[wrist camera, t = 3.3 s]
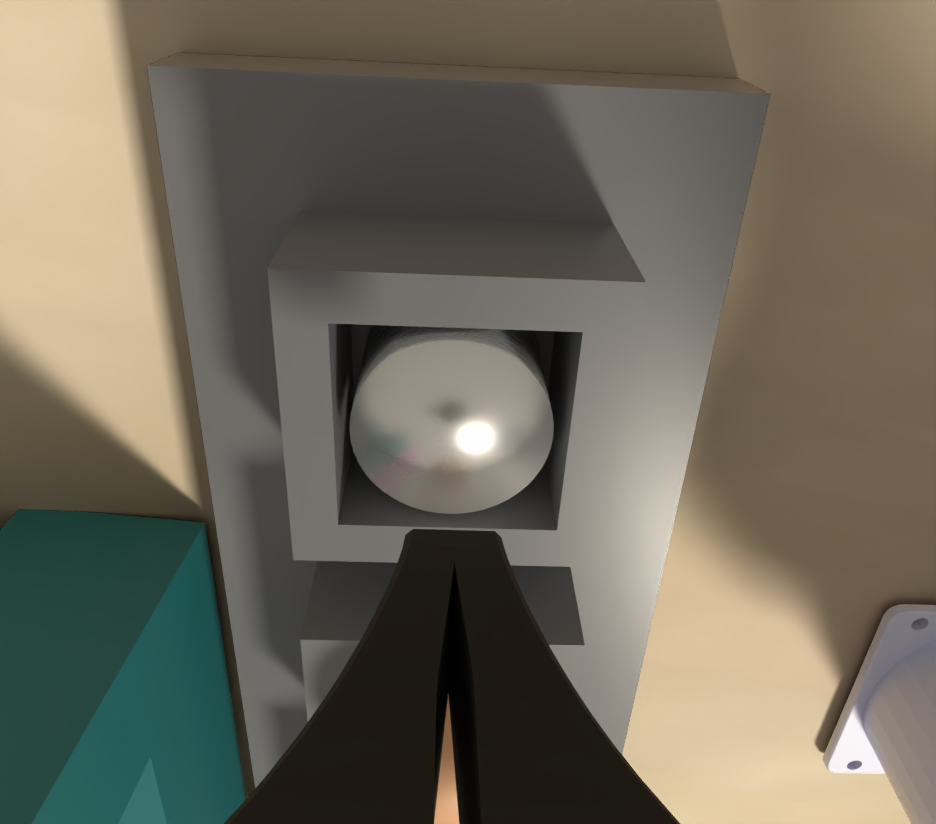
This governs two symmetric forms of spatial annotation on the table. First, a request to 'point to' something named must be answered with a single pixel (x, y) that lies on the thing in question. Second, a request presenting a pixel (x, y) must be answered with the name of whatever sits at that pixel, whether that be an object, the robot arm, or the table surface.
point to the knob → (451, 415)
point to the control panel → (452, 306)
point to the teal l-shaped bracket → (112, 674)
